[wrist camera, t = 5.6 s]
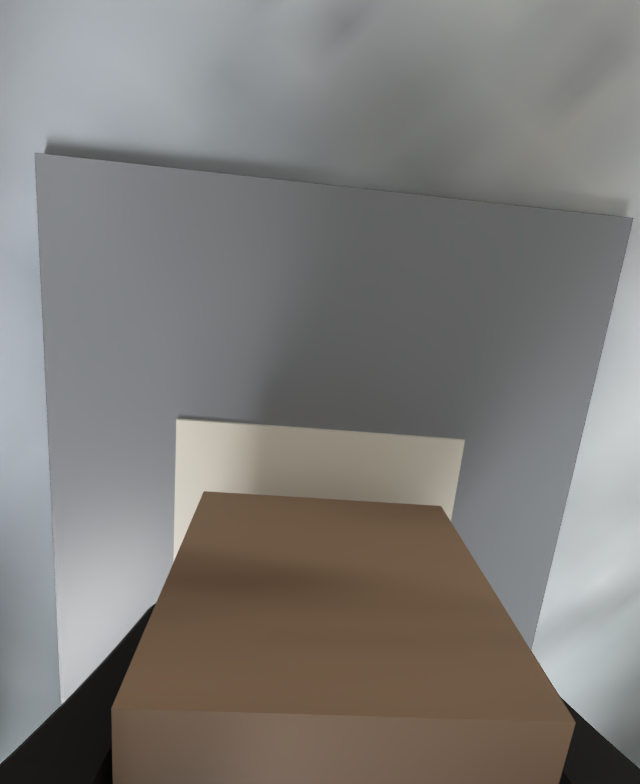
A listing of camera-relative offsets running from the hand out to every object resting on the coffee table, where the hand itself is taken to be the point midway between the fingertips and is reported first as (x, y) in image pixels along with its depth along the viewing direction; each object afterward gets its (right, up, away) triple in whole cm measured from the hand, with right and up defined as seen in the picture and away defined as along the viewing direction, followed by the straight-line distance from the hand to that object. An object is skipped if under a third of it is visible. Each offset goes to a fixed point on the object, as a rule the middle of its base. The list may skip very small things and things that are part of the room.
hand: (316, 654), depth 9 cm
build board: (0, +1, +4) cm, 4 cm away
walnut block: (0, 0, +1) cm, 1 cm away
